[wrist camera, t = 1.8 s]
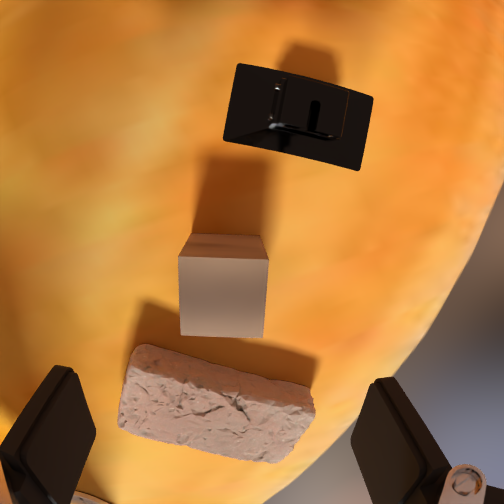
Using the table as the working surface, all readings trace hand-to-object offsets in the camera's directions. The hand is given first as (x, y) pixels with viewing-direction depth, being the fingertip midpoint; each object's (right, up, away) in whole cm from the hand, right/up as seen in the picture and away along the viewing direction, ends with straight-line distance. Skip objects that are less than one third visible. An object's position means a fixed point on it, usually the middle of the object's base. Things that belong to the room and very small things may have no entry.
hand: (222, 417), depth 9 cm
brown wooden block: (-1, +4, +15) cm, 16 cm away
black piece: (+4, +15, +13) cm, 20 cm away
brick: (-2, -8, +19) cm, 21 cm away
